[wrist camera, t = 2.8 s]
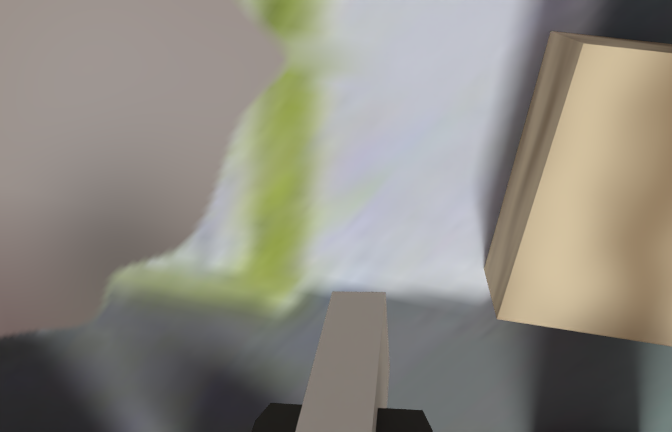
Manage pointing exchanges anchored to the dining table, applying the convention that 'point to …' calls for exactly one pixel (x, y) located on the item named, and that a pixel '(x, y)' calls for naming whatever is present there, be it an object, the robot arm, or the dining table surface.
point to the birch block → (591, 195)
